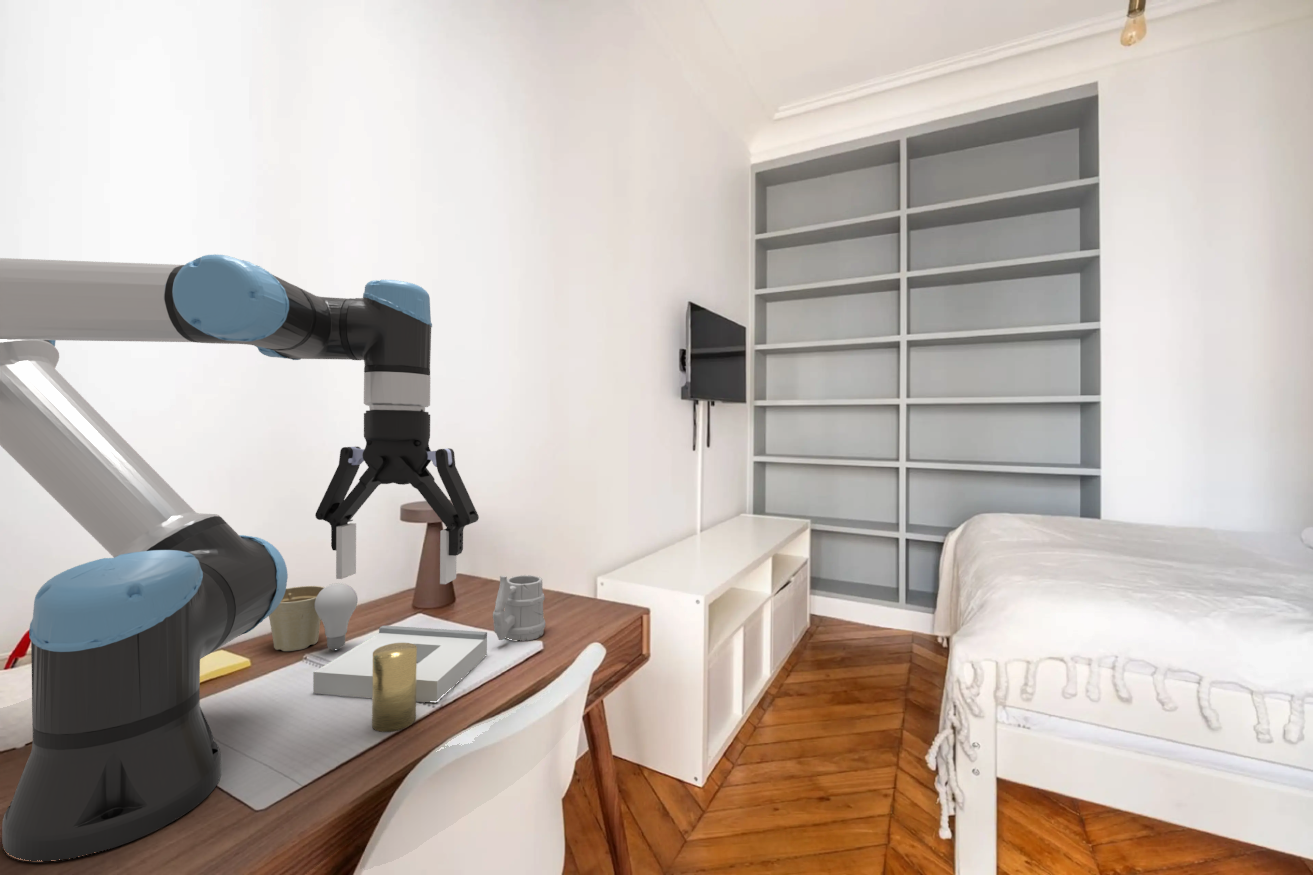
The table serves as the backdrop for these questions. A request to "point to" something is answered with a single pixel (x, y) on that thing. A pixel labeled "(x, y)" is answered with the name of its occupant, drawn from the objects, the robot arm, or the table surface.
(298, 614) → the flower pot
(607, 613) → the table surface
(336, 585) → the lightbulb
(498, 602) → the mug
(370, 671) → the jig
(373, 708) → the gold cylinder
